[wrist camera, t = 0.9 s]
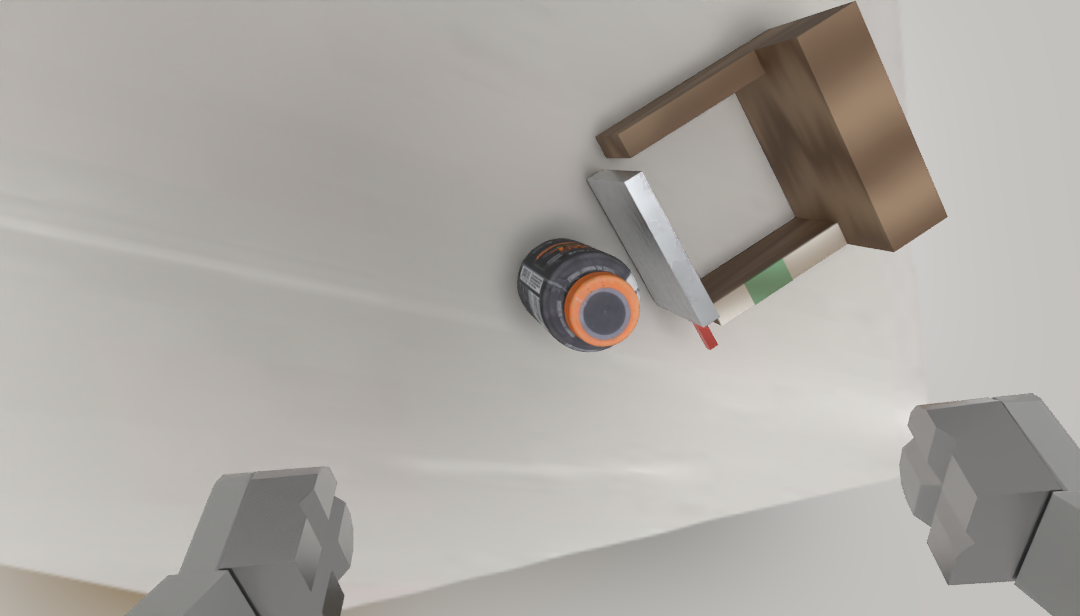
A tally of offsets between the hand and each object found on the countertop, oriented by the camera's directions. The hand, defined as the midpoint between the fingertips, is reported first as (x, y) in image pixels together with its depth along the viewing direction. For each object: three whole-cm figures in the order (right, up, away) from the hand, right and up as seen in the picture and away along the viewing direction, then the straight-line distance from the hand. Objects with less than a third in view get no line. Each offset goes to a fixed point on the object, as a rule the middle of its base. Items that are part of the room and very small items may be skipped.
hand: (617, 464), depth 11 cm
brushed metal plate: (+6, +6, +42) cm, 43 cm away
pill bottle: (0, +4, +42) cm, 43 cm away
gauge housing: (+11, +11, +43) cm, 46 cm away
